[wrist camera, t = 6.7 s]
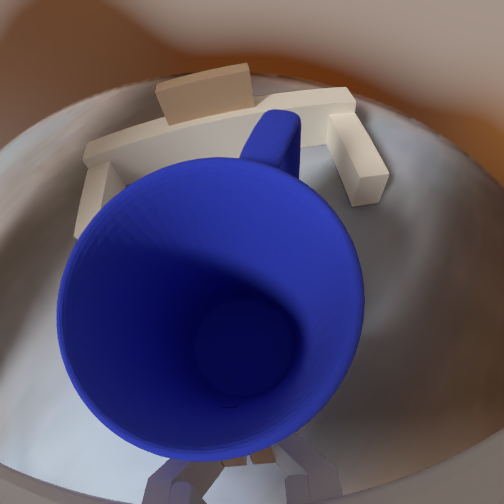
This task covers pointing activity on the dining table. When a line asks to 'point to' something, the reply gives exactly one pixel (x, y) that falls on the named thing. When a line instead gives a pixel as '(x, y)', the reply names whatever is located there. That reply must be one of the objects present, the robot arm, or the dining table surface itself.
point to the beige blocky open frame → (228, 135)
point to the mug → (213, 303)
